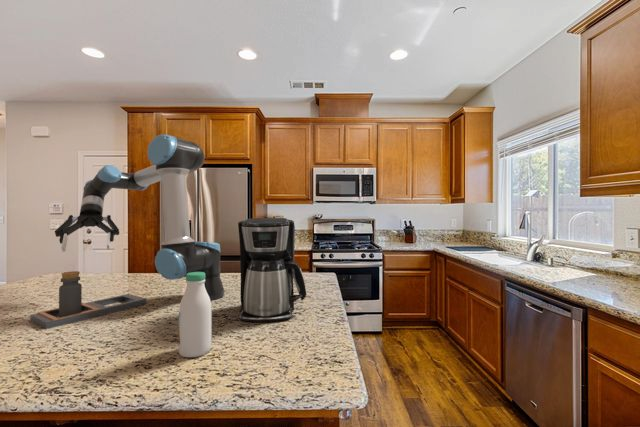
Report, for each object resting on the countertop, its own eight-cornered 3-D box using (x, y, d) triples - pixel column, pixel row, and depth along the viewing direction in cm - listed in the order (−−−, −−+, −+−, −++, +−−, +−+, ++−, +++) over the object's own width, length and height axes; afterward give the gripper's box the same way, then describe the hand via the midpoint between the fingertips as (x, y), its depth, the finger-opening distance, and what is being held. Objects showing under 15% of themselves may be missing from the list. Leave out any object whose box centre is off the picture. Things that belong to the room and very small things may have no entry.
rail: (146, 303, 117) (146, 297, 117) (46, 329, 91) (46, 321, 91) (128, 298, 124) (128, 293, 124) (30, 320, 98) (30, 313, 98)
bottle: (67, 314, 104) (67, 270, 104) (85, 314, 105) (85, 270, 105) (54, 320, 98) (54, 274, 98) (73, 320, 99) (73, 274, 99)
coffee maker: (245, 328, 93) (246, 218, 93) (223, 301, 121) (223, 217, 121) (311, 316, 104) (311, 218, 104) (276, 294, 132) (277, 217, 132)
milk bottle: (217, 348, 79) (218, 271, 79) (194, 361, 72) (194, 277, 72) (196, 342, 83) (196, 269, 83) (171, 354, 76) (172, 274, 76)
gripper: (127, 215, 137) (125, 252, 124) (55, 215, 124) (45, 256, 111) (126, 203, 132) (125, 240, 119) (51, 201, 119) (40, 243, 107)
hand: (86, 248), depth 115 cm, fingers open, 13 cm apart
